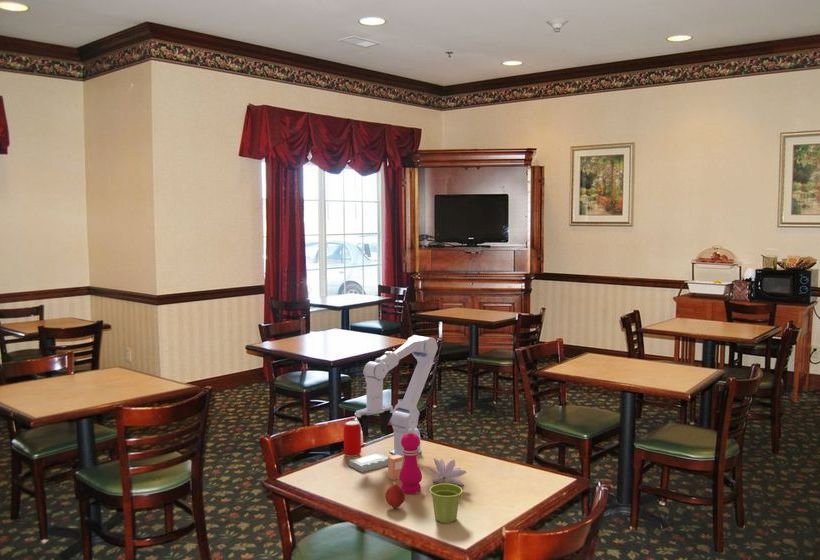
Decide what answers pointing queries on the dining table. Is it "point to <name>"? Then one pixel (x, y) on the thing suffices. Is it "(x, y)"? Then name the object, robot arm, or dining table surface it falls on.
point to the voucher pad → (369, 462)
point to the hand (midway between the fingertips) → (374, 434)
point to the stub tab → (394, 466)
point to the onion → (395, 495)
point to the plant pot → (445, 501)
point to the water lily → (447, 472)
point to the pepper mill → (410, 464)
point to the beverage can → (352, 438)
